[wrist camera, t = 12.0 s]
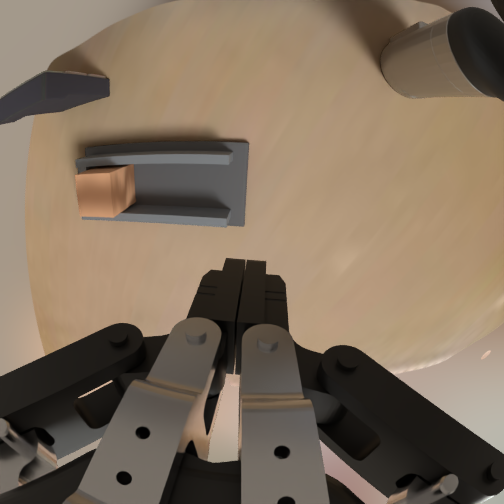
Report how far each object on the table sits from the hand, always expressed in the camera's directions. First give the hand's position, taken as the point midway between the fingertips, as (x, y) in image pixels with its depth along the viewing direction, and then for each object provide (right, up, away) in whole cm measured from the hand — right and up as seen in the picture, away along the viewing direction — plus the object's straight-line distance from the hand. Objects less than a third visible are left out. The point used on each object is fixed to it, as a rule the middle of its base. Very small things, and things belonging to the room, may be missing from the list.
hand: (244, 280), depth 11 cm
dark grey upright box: (-26, +26, +21) cm, 43 cm away
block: (-20, +12, +27) cm, 36 cm away
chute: (-13, +11, +28) cm, 33 cm away
